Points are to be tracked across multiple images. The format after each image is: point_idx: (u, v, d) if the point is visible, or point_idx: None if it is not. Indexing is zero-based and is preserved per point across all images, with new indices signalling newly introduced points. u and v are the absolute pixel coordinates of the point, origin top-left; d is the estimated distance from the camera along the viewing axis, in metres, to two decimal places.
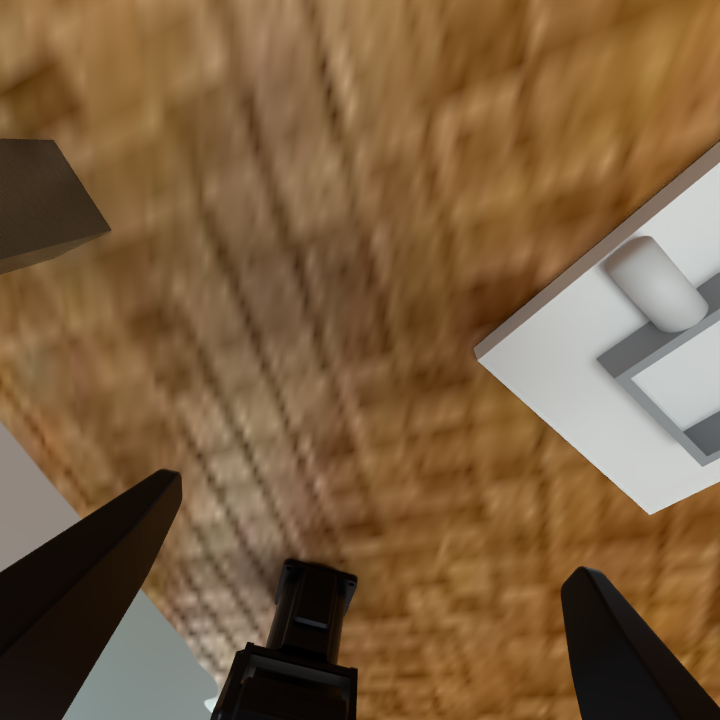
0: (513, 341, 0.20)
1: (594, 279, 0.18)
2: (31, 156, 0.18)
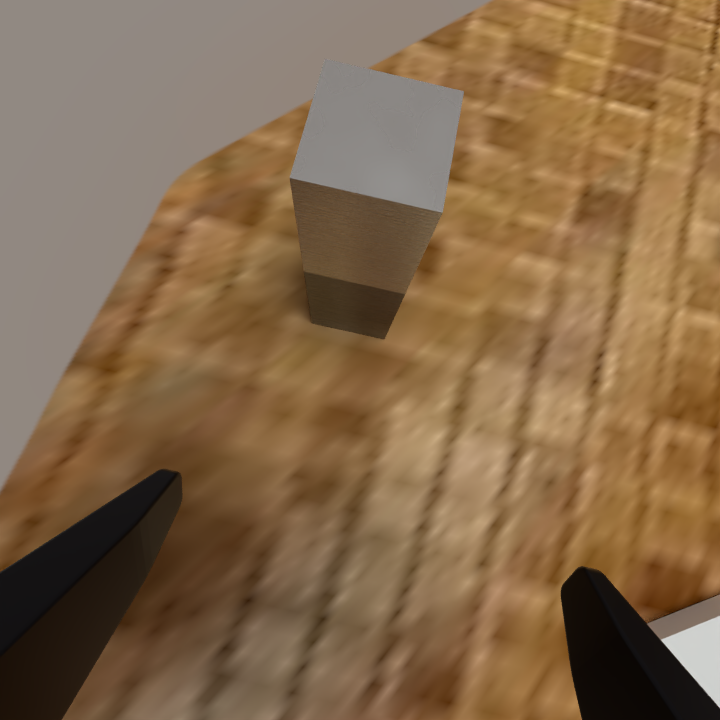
0: (694, 637, 0.20)
1: None
2: None
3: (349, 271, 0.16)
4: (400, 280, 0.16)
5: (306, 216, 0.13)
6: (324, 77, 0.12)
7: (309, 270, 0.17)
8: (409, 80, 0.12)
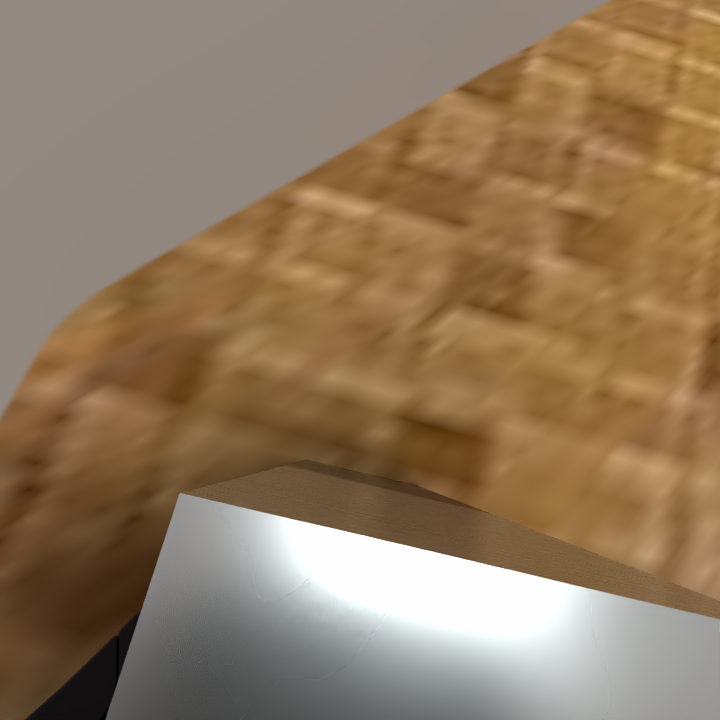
0: None
1: None
2: None
3: None
4: None
5: None
6: (166, 613, 0.02)
7: None
8: (586, 599, 0.03)
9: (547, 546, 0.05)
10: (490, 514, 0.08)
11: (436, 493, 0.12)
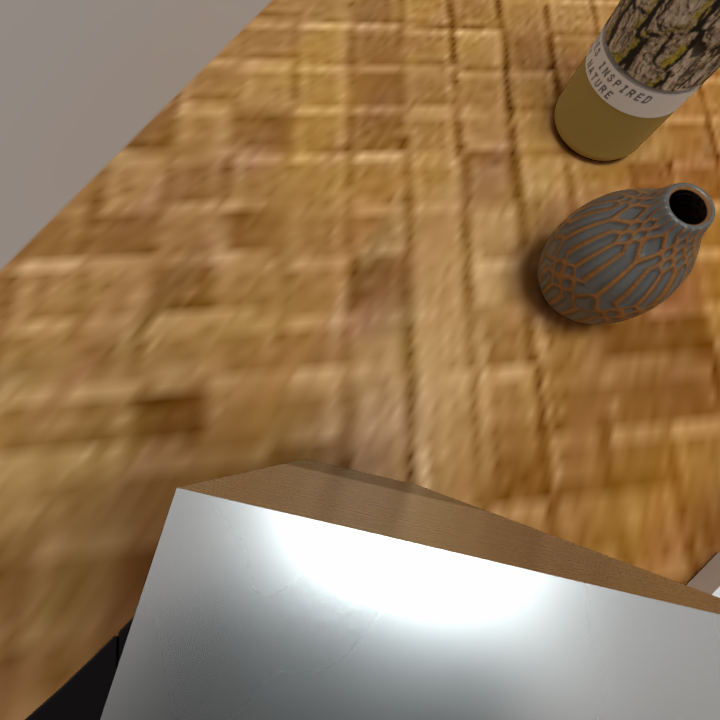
0: None
1: None
2: None
3: None
4: None
5: None
6: (162, 607, 0.02)
7: None
8: (581, 593, 0.03)
9: (544, 543, 0.05)
10: (489, 512, 0.08)
11: (435, 492, 0.12)
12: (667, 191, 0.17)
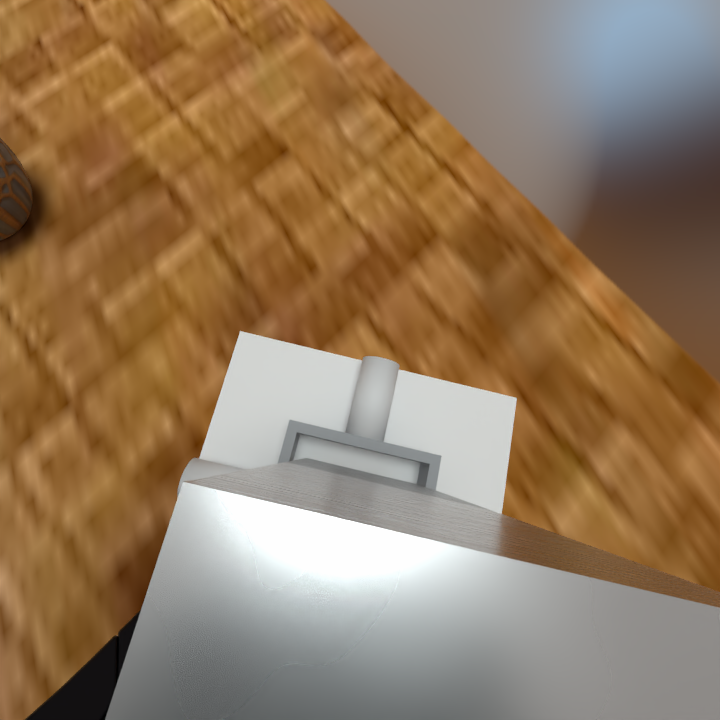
0: None
1: None
2: None
3: None
4: None
5: None
6: (170, 600, 0.02)
7: None
8: (586, 588, 0.03)
9: (547, 540, 0.05)
10: (490, 510, 0.08)
11: (436, 491, 0.12)
12: None
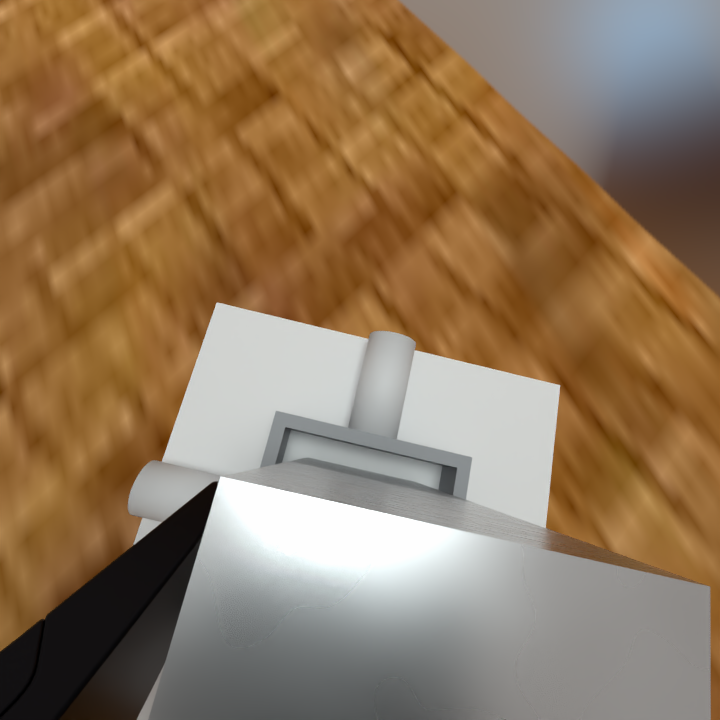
0: None
1: (155, 525, 0.15)
2: None
3: None
4: None
5: None
6: (213, 562, 0.03)
7: None
8: (519, 552, 0.04)
9: (511, 524, 0.06)
10: (474, 503, 0.09)
11: (429, 487, 0.13)
12: None
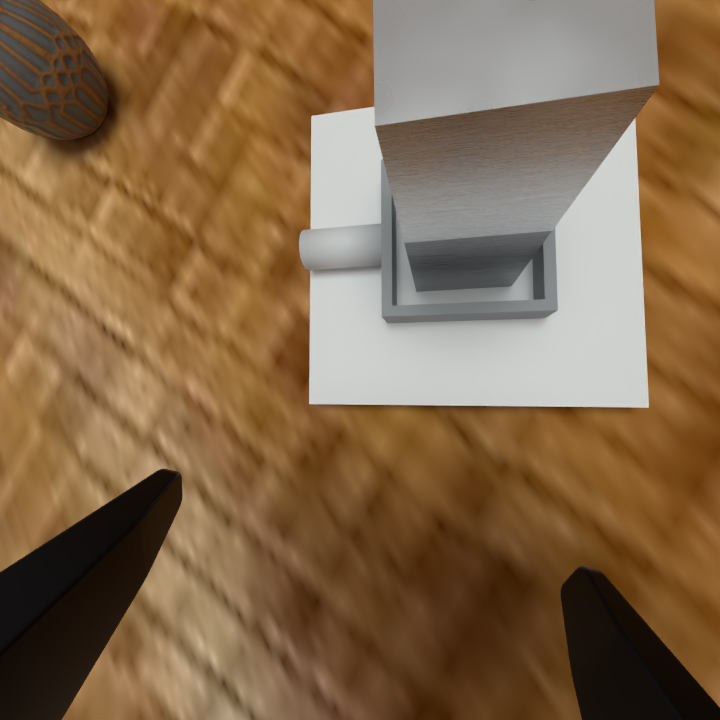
0: (317, 366, 0.21)
1: (320, 282, 0.21)
2: None
3: (468, 225, 0.12)
4: (548, 215, 0.11)
5: (405, 174, 0.09)
6: None
7: (411, 240, 0.13)
8: None
9: None
10: None
11: None
12: None
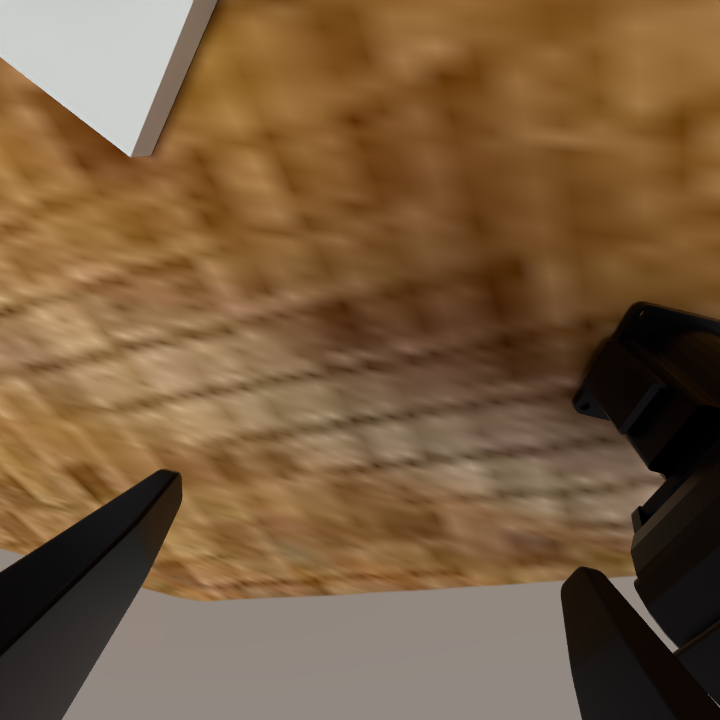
0: (88, 111, 0.15)
1: None
2: None
3: None
4: None
5: None
6: None
7: None
8: None
9: None
10: None
11: None
12: None
